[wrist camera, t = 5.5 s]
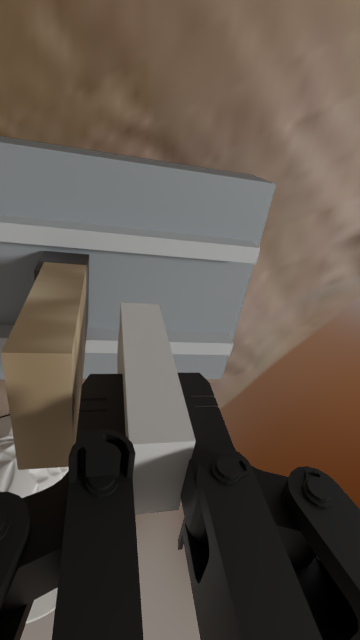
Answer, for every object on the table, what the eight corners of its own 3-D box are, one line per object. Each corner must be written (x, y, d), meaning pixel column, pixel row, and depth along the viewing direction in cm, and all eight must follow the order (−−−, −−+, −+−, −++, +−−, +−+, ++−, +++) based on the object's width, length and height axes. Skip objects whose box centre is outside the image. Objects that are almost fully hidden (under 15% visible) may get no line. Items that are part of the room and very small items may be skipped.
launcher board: (252, 175, 18) (290, 189, 14) (210, 351, 24) (229, 394, 20) (-196, 105, 13) (-317, 98, 10) (-112, 345, 19) (-167, 400, 15)
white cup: (-26, 475, 26) (-91, 644, 18) (-34, 403, 22) (-121, 573, 14) (77, 473, 28) (63, 622, 20) (85, 407, 24) (71, 556, 16)
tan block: (89, 246, 15) (71, 353, 8) (88, 326, 17) (73, 466, 10) (43, 242, 15) (-18, 352, 8) (48, 325, 17) (3, 470, 10)
